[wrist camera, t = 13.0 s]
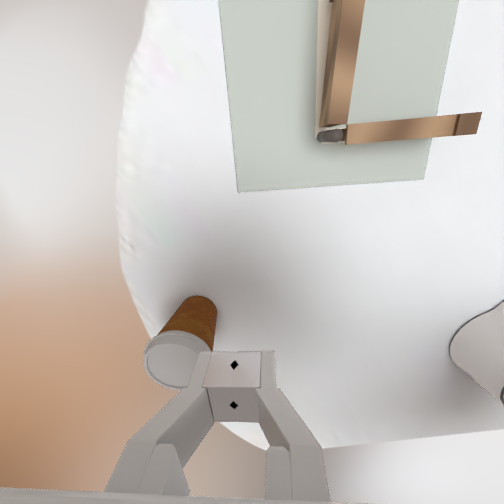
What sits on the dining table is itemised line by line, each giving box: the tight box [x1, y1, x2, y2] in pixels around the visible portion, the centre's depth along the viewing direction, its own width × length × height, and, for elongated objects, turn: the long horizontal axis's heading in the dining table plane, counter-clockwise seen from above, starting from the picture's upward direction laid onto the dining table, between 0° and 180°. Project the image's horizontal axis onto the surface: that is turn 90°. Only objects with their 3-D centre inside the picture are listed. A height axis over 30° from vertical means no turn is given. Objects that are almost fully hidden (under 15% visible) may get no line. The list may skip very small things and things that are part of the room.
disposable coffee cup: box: [143, 296, 217, 390], centre depth 38 cm, size 10×10×12 cm
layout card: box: [219, 0, 459, 192], centre depth 29 cm, size 24×20×1 cm
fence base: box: [317, 112, 482, 145], centre depth 26 cm, size 14×2×7 cm, turn 95°
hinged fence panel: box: [319, 0, 365, 127], centre depth 24 cm, size 13×2×6 cm, turn 0°
